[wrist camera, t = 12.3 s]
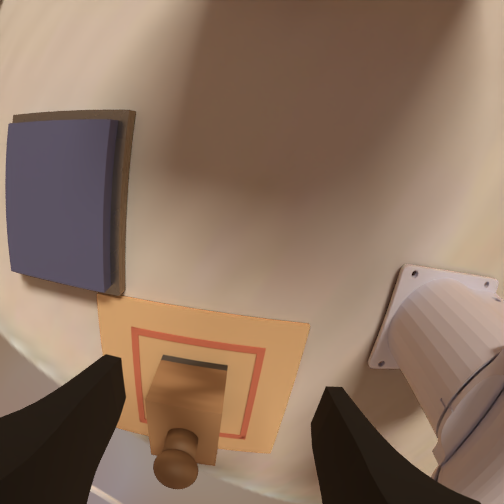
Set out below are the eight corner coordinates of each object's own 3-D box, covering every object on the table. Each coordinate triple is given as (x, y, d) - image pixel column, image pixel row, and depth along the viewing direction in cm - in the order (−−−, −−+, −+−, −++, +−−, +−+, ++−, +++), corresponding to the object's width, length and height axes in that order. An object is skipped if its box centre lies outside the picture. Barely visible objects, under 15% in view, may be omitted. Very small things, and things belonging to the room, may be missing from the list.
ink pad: (135, 111, 16) (122, 108, 14) (125, 289, 19) (113, 303, 17) (22, 115, 15) (4, 114, 14) (22, 267, 19) (7, 277, 17)
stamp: (227, 365, 21) (216, 468, 12) (220, 420, 22) (209, 511, 14) (163, 354, 20) (126, 450, 12) (164, 410, 22) (139, 497, 14)
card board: (309, 323, 20) (310, 327, 19) (270, 450, 24) (270, 454, 24) (99, 291, 19) (95, 294, 19) (117, 424, 24) (115, 428, 23)
